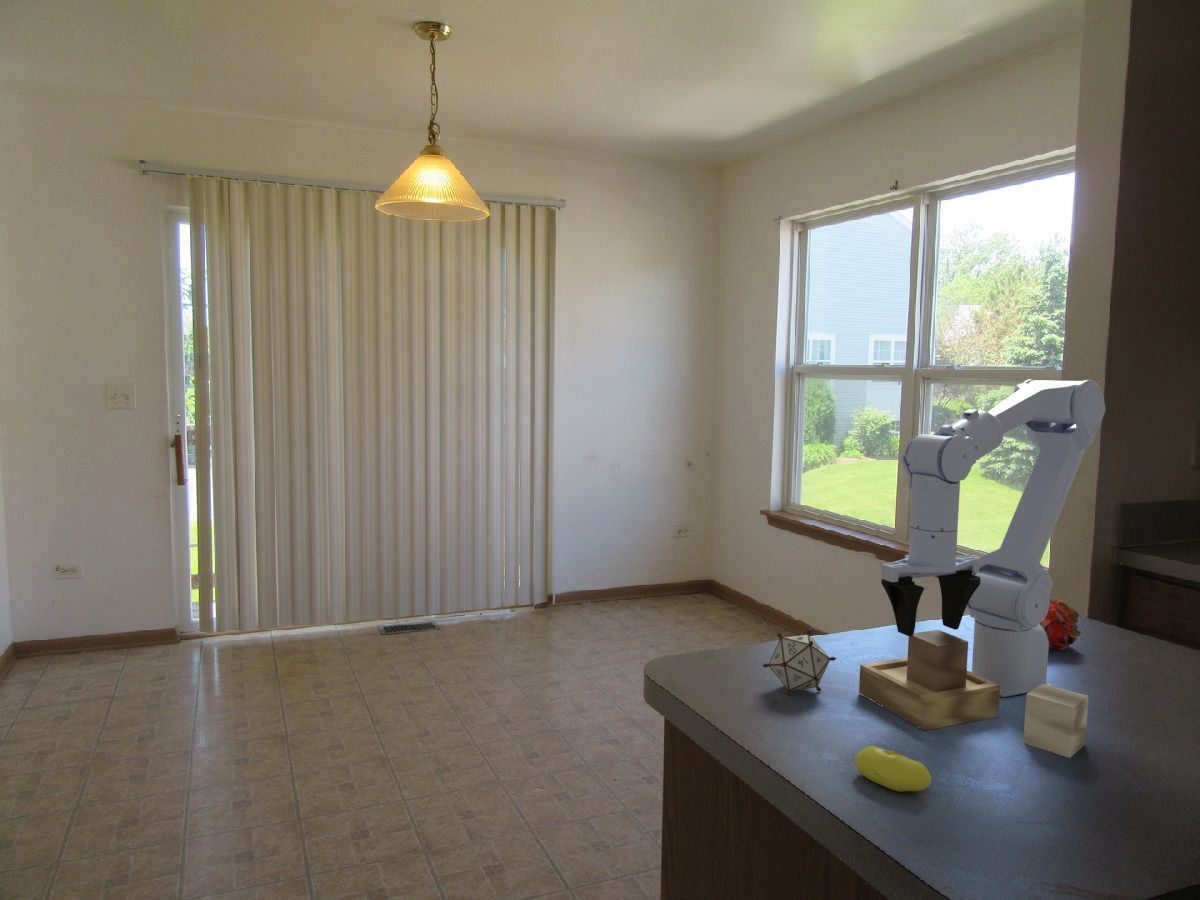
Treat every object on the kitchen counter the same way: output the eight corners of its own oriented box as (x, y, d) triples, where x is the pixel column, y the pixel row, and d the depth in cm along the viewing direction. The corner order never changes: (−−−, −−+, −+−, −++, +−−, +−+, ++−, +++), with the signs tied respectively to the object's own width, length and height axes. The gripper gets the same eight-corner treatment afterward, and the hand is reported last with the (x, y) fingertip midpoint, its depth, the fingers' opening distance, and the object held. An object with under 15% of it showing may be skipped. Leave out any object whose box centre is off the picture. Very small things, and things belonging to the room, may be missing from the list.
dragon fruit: (1061, 647, 134) (1041, 677, 125) (1017, 610, 137) (994, 637, 129) (1098, 615, 129) (1079, 643, 120) (1051, 577, 133) (1029, 603, 124)
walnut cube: (936, 673, 108) (938, 629, 107) (965, 687, 103) (968, 641, 102) (906, 678, 106) (908, 633, 105) (935, 692, 101) (937, 646, 101)
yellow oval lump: (865, 766, 89) (867, 732, 89) (937, 793, 84) (939, 757, 83) (846, 779, 87) (847, 744, 86) (919, 808, 81) (921, 771, 80)
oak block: (928, 682, 114) (929, 654, 113) (998, 716, 103) (1000, 685, 102) (858, 693, 109) (860, 664, 109) (924, 730, 98) (926, 698, 98)
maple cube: (1039, 730, 99) (1042, 683, 98) (1085, 745, 95) (1088, 695, 94) (1023, 743, 95) (1026, 694, 95) (1069, 758, 92) (1073, 707, 91)
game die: (809, 721, 109) (838, 680, 103) (750, 694, 111) (775, 652, 104) (819, 670, 116) (847, 629, 110) (764, 645, 117) (788, 603, 111)
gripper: (952, 519, 111) (947, 615, 112) (867, 525, 105) (862, 627, 106) (994, 528, 104) (989, 631, 105) (906, 536, 99) (901, 644, 100)
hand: (928, 630), depth 105 cm, fingers open, 7 cm apart
